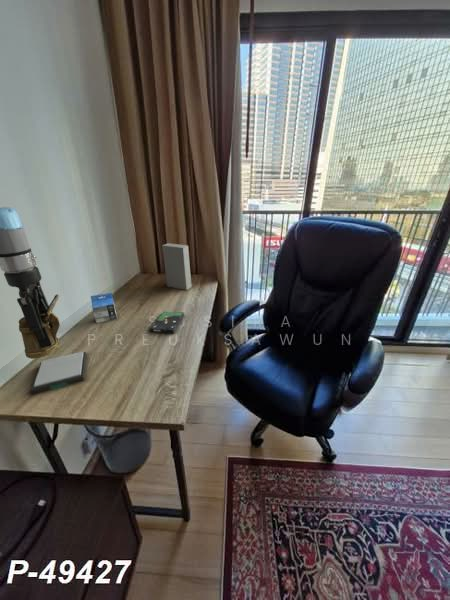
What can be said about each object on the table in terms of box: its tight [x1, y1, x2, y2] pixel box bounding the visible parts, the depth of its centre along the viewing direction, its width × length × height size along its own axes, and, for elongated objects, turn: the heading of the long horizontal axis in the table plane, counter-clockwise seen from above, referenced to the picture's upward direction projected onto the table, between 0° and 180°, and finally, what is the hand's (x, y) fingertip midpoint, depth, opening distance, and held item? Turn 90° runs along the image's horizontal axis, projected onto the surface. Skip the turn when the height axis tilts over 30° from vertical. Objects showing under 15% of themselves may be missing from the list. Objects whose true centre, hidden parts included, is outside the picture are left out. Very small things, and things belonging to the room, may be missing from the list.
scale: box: [30, 351, 88, 395], centre depth 83 cm, size 14×14×3 cm
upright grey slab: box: [161, 242, 193, 291], centre depth 143 cm, size 14×6×25 cm, turn 65°
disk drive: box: [150, 310, 185, 335], centre depth 110 cm, size 10×3×15 cm
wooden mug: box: [18, 294, 61, 360], centre depth 75 cm, size 9×14×18 cm, turn 104°
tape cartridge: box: [90, 292, 118, 324], centre depth 112 cm, size 9×4×12 cm, turn 112°
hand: (48, 339), depth 78 cm, fingers closed on wooden mug, 7 cm apart
